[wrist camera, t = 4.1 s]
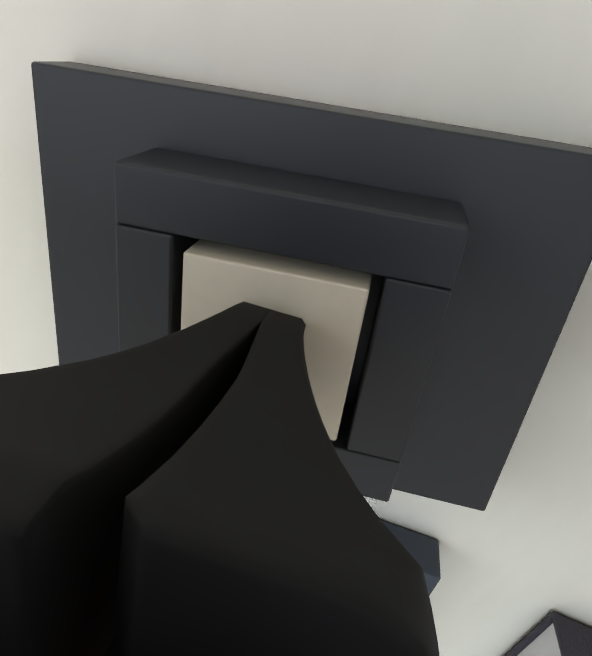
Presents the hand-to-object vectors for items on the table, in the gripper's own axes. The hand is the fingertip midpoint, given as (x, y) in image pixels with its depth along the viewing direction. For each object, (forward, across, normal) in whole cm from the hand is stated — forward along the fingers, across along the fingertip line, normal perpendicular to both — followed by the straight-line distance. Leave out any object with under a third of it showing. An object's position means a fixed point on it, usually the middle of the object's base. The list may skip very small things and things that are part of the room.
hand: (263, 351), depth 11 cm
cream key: (+2, 0, 0) cm, 2 cm away
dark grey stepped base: (+3, 0, 0) cm, 3 cm away
